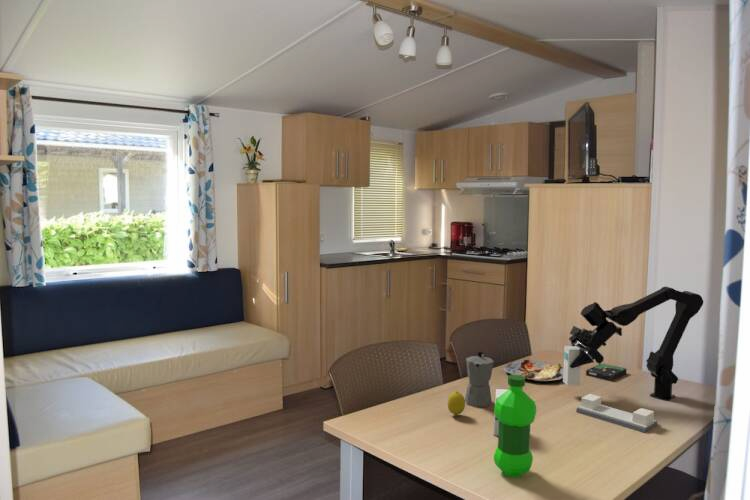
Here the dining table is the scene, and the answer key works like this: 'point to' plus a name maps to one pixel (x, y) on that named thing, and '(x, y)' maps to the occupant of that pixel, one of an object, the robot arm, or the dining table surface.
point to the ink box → (496, 421)
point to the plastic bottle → (514, 428)
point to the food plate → (536, 370)
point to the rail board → (617, 414)
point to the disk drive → (606, 372)
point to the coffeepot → (479, 380)
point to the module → (570, 374)
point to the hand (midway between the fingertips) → (568, 365)
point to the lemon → (456, 403)
